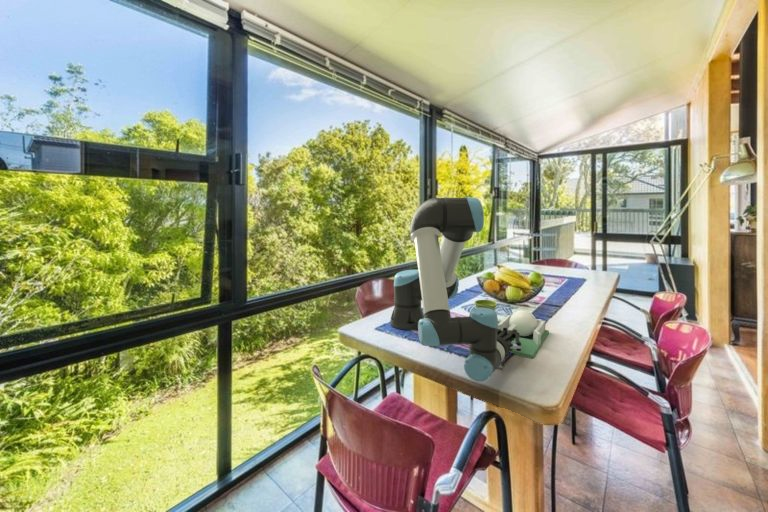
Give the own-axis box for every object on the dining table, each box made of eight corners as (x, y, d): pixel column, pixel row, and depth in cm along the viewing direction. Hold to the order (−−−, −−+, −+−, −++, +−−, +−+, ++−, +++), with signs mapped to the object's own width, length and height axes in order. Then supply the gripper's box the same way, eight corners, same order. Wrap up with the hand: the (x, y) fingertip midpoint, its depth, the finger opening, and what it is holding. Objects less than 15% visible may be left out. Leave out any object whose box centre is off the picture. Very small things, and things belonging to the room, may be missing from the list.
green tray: (482, 346, 124) (482, 333, 123) (504, 324, 146) (505, 313, 145) (533, 358, 114) (534, 344, 113) (549, 332, 136) (549, 320, 135)
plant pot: (497, 325, 145) (498, 306, 143) (474, 324, 147) (475, 305, 145) (495, 318, 154) (495, 300, 152) (473, 317, 156) (474, 299, 154)
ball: (514, 305, 139) (513, 328, 141) (505, 312, 131) (505, 337, 133) (540, 309, 133) (539, 333, 135) (533, 317, 125) (532, 343, 127)
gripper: (472, 357, 110) (496, 334, 129) (514, 367, 103) (532, 341, 121) (473, 334, 109) (496, 315, 128) (515, 343, 101) (533, 321, 120)
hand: (514, 328), depth 125 cm, fingers closed
